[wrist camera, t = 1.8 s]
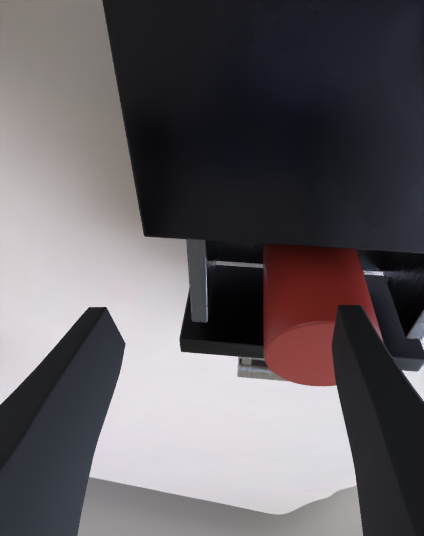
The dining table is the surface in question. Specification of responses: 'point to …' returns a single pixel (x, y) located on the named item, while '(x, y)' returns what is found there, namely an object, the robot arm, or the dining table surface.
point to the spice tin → (308, 308)
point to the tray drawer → (251, 304)
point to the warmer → (275, 119)
